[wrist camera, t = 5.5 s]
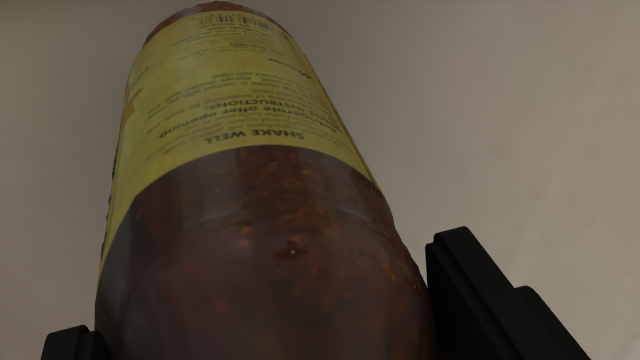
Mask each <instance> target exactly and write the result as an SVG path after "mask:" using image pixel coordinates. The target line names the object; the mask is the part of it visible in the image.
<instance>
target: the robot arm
mask: <svg viewBox="0 0 640 360" xmlns="http://www.w3.org/2000/svg"><path fill="white" fill-rule="evenodd" d="M425 253H426V270H427V286H428V292H429V296H430V298H431V301H432V306H433V310H434V316H435V318H436V330H437V339H438V354H437V360H591V359H590V358H589V357H588V355H587V354H586V353H585V352H584V350H583V349H582V348H581V347H580V345H579V344H578V343H577V342H576V341H575V339H574V338H573V337H572V336H571V334H570V333H569V332H568V331H567V329H566V328H565V327H564V326H563V324H562V323H561V322H560V321H559V320H558V318H557V317H556V316H555V315H554V313H553V312H552V311H551V310H550V308H549V307H548V306H547V305H546V303H545V302H544V301H543V300H542V299H541V297H540V296H539V295H538V294H537V293H536V292H535V291H534V290H533V289H532V288H531V287H529V286H527V285H526V286H521V287H518V288H514V287H513V286H512V284H511V283H510V282H509V280H508V279H507V278H506V277H505V275H504V274H503V273H502V271H501V270H500V269H499V267H498V266H497V265H496V264H495V262H494V261H493V260H492V258H491V257H490V256H489V254H488V253H487V252H486V251H485V249H484V248H483V247H482V245H481V244H480V243H479V241H478V240H477V239H476V238H475V236H474V235H473V234H472V232H471V231H470V230H469V229H468V228H467V227H465V226H462V227H458V228H455V229H451V230H447V231H443V232H439V233H436V234H435V235H434V240H433V243H429V244H426V247H425ZM41 360H111V352H110V350H109V348H108V346H107V344H106V342H105V340H104V338H103V336H102V334H101V332H100V331H99V330H95V331H91V332H90V331H89V329H88V328H87V327H86V326H85V325H80V326H76V327H72V328H68V329H64V330H60V331H57V332H53V333H50V334H48V335H47V337H46V340H45V344H44V348H43V352H42V356H41Z"/></svg>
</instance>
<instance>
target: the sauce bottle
mask: <svg viewBox="0 0 640 360" xmlns="http://www.w3.org/2000/svg"><path fill="white" fill-rule="evenodd" d="M112 179H113V184H112V190H111V195H110V197H109V212H108V214H107V217H106V218H107V225H106V232H105V239H104V242H103V245H102V250H101V263H100V271H99V279H98V286H97V294H96V301H95V325H94V329H95V330H99V331H100V332H101V334H102V336H103V338H104V340H105V342H106V344H107V346H108V348H109V350H110V352H111V360H437V354H438V339H437V330H436V318H435V316H434V310H433V306H432V301H431V298H430V296H429V292H428V288H427V286H426V284H425V282H424V280H423V277H422V276H421V274H420V271H419V268H418V266H417V264H416V263H415V261H414V260H413V259H412V257H411V255H410V253H409V251H408V249H407V247H406V246H405V245H404V244H403V242H402V240H401V238H400V236H399V234H398V233H397V231H396V229H395V225H394V220H393V216H392V213H391V210H390V207H389V205H388V203H387V201H386V199H385V197H384V195H383V193H382V191H381V189H380V188H379V186H378V184H377V182H376V180H375V179H374V177H373V175H372V173H371V172H370V170H369V168H368V166H367V164H366V163H365V161H364V159H363V157H362V155H361V154H360V152H359V150H358V148H357V146H356V145H355V143H354V141H353V139H352V137H351V136H350V134H349V132H348V130H347V128H346V127H345V125H344V123H343V121H342V119H341V118H340V116H339V114H338V112H337V110H336V109H335V107H334V105H333V103H332V101H331V100H330V98H329V96H328V94H327V92H326V91H325V89H324V87H323V85H322V84H321V82H320V80H319V78H318V77H317V75H316V73H315V71H314V70H313V68H312V66H311V64H310V62H309V60H308V58H307V56H306V55H305V54H303V53H302V51H301V49H300V48H299V46H298V45H297V43H296V42H295V41H294V40H293V38H292V37H291V35H290V34H289V33H288V32H287V31H286V30H285V29H284V28H283V27H281V26H280V25H279V24H277V23H276V22H275V21H274V20H273V19H271V18H269V17H268V16H266V15H264V14H262V13H261V12H259V11H255V10H251V9H249V8H246V7H243V6H241V5H237V4H233V3H230V2H219V1H214V2H210V3H204V4H199V5H197V6H194V7H191V8H187V9H184V10H182V11H179V12H177V13H175V14H174V15H172V16H170V17H169V18H167V19H165V20H164V21H162V22H161V23H159V24H158V25H157V27H156V28H155V29H154V30H153V31H152V32H151V33H150V34H149V35H148V37H147V38H146V41H145V43H144V45H143V48H142V50H141V51H140V53H139V54H138V56H137V57H136V59H135V61H134V63H133V66H132V68H131V71H130V74H129V77H128V81H127V85H126V89H125V97H124V107H123V113H122V119H121V126H120V133H119V140H118V146H117V149H116V155H115V159H114V167H113V173H112Z"/></svg>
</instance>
